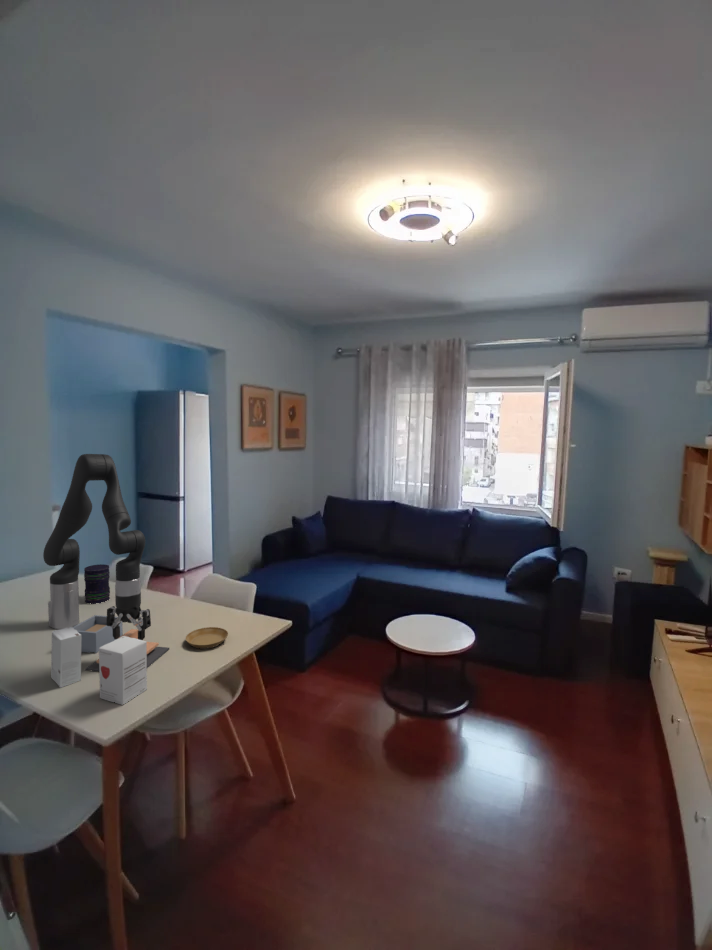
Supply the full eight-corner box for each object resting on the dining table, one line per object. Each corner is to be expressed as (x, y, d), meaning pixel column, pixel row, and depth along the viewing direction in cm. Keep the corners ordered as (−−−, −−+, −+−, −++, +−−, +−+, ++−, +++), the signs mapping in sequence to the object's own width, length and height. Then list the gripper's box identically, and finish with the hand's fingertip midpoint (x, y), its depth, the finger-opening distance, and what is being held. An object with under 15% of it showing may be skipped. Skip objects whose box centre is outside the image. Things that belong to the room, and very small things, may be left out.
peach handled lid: (131, 670, 144) (131, 645, 143) (96, 667, 146) (96, 642, 145) (158, 649, 159) (158, 625, 158) (126, 646, 160) (126, 623, 160)
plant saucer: (206, 655, 157) (206, 648, 157) (176, 645, 164) (176, 638, 163) (236, 639, 170) (236, 632, 170) (207, 630, 177) (207, 624, 176)
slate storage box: (96, 653, 156) (95, 633, 156) (67, 650, 158) (66, 630, 157) (122, 635, 170) (122, 617, 169) (95, 633, 171) (95, 615, 171)
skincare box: (50, 678, 140) (49, 631, 138) (73, 671, 144) (71, 625, 143) (60, 688, 134) (59, 639, 133) (83, 680, 139) (81, 633, 138)
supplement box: (98, 698, 130) (97, 647, 128) (124, 683, 138) (123, 634, 137) (122, 706, 126) (121, 653, 125) (148, 689, 135) (147, 640, 134)
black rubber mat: (85, 670, 145) (85, 668, 145) (121, 645, 163) (121, 643, 162) (138, 675, 142) (138, 673, 142) (169, 649, 160) (169, 647, 160)
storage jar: (103, 594, 212) (103, 563, 211) (114, 599, 206) (113, 567, 205) (80, 600, 204) (79, 567, 203) (91, 606, 198) (90, 572, 197)
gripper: (100, 593, 148) (101, 642, 149) (141, 597, 146) (142, 646, 147) (115, 586, 155) (116, 632, 157) (154, 589, 153) (155, 636, 155)
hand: (128, 639), depth 152 cm, fingers open, 8 cm apart
